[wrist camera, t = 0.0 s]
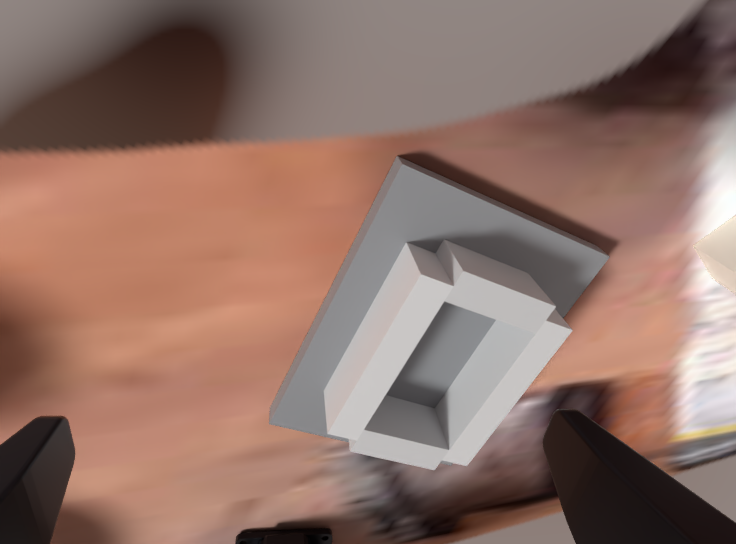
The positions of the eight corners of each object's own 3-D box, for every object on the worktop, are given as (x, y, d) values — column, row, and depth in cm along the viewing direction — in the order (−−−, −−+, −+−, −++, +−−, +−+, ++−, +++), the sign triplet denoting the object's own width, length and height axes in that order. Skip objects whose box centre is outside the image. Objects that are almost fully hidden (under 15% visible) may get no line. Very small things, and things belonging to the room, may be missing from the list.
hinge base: (446, 450, 32) (465, 508, 29) (269, 408, 28) (266, 469, 25) (596, 246, 26) (646, 287, 22) (397, 155, 22) (418, 188, 18)
